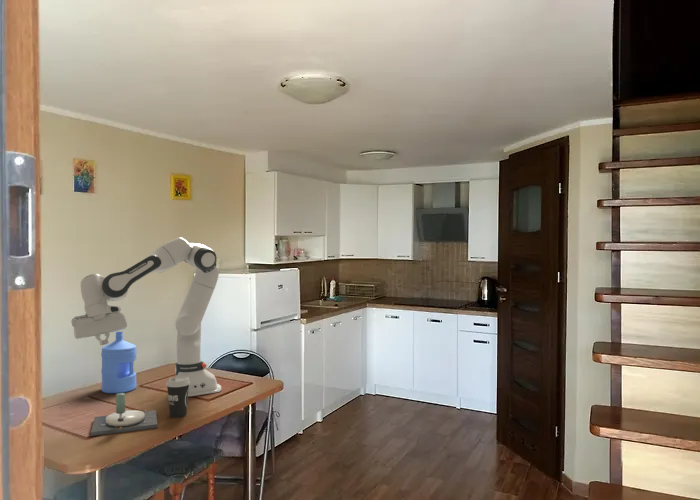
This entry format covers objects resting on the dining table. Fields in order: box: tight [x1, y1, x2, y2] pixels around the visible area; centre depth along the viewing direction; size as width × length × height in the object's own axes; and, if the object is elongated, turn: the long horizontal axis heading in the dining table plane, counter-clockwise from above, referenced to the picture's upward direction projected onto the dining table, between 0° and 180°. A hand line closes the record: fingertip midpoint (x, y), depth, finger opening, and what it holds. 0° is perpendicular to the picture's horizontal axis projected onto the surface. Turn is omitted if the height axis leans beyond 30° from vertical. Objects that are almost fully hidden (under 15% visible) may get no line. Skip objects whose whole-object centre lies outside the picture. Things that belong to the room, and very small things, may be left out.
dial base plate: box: [90, 409, 158, 437], centre depth 202 cm, size 23×18×2 cm
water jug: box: [100, 331, 137, 394], centre depth 250 cm, size 16×16×28 cm
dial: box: [106, 392, 145, 426], centre depth 202 cm, size 14×14×12 cm
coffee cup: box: [165, 376, 190, 419], centre depth 213 cm, size 10×10×15 cm
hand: (104, 344), depth 214 cm, fingers closed
